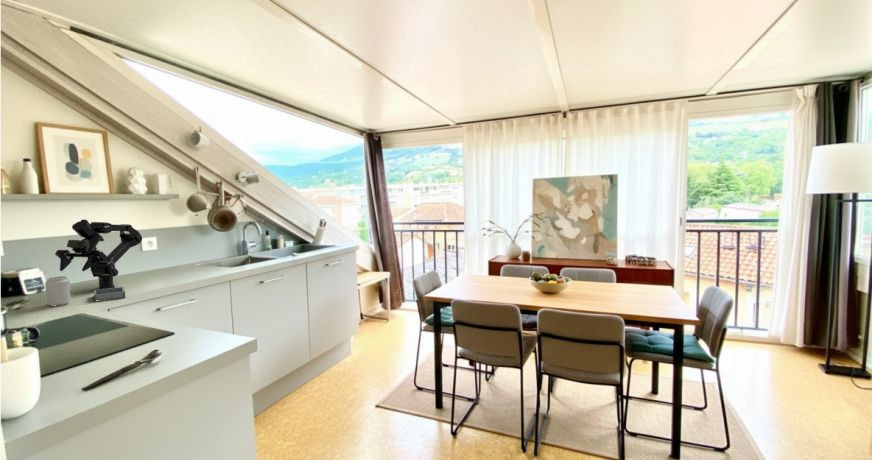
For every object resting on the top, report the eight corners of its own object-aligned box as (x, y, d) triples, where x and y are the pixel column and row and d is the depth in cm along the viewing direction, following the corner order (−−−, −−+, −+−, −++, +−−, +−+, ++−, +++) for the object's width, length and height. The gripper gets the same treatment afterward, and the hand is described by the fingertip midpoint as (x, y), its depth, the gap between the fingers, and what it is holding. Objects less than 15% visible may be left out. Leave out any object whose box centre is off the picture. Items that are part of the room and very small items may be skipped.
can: (55, 307, 163) (53, 280, 162) (42, 305, 165) (40, 278, 164) (75, 302, 171) (73, 276, 170) (62, 301, 172) (60, 275, 171)
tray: (94, 296, 181) (93, 290, 181) (124, 292, 188) (123, 286, 188) (94, 301, 173) (93, 295, 172) (125, 297, 180) (124, 291, 180)
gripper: (56, 232, 177) (36, 260, 167) (100, 233, 179) (83, 261, 169) (72, 246, 185) (53, 274, 176) (113, 247, 187) (98, 274, 178)
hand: (71, 270), depth 174 cm, fingers open, 9 cm apart
